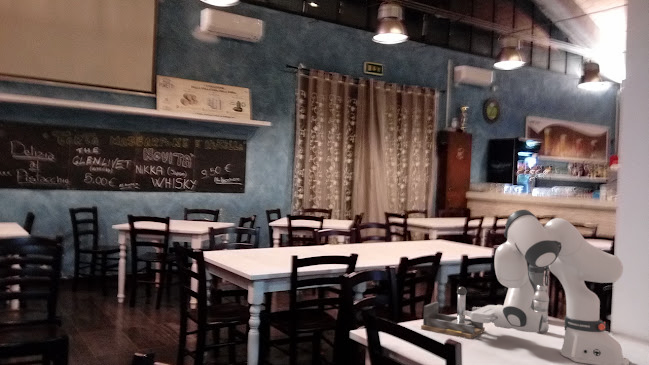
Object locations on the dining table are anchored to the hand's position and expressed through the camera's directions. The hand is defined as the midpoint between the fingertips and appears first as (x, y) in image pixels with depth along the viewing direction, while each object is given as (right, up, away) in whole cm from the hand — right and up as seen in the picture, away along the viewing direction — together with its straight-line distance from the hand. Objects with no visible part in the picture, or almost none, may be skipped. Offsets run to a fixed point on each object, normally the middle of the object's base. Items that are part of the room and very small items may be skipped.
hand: (468, 310), depth 228 cm
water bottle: (+39, -11, +28) cm, 49 cm away
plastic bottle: (+32, -10, +5) cm, 34 cm away
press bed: (-6, -9, +4) cm, 11 cm away
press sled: (-3, -8, +2) cm, 8 cm away
